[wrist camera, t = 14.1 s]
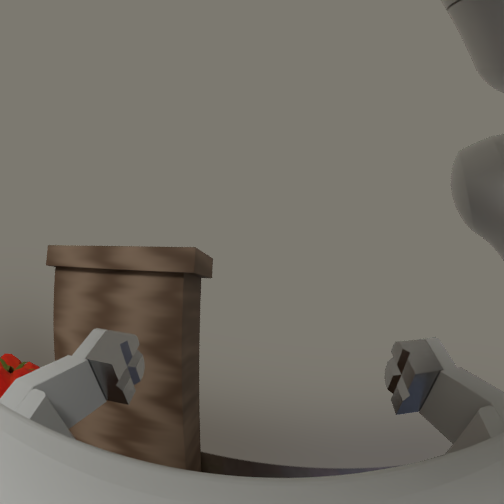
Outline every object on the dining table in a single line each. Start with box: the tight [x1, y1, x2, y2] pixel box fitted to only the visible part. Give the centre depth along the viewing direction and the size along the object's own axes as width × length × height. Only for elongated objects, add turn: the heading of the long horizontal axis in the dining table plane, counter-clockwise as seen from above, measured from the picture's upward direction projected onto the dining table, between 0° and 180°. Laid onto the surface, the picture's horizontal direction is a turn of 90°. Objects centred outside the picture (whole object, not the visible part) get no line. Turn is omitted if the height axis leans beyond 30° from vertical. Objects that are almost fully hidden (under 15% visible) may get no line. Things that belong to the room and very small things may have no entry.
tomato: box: [0, 354, 40, 398], centre depth 25 cm, size 13×14×12 cm
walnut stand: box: [46, 245, 213, 472], centre depth 26 cm, size 16×7×26 cm, turn 86°
